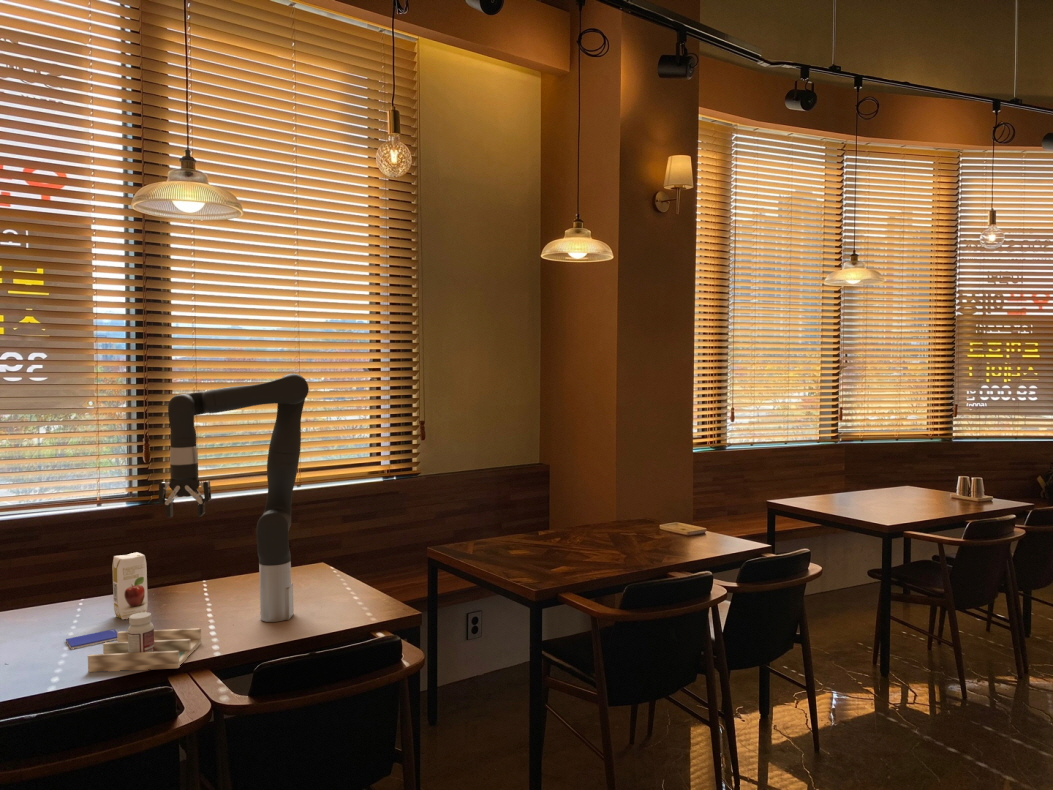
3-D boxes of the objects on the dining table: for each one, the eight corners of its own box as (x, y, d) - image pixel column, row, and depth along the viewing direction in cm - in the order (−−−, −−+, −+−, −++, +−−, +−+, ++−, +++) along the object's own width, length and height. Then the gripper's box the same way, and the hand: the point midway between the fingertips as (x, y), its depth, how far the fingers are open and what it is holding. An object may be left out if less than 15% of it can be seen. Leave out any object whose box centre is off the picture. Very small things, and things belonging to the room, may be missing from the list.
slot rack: (201, 643, 216) (201, 628, 216) (178, 668, 198) (177, 652, 197) (119, 646, 214) (118, 631, 213) (88, 672, 196) (87, 656, 195)
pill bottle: (154, 652, 205) (153, 610, 205) (154, 659, 200) (153, 616, 200) (128, 656, 203) (127, 613, 202) (128, 664, 197) (126, 620, 197)
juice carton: (111, 616, 240) (110, 555, 239) (140, 609, 246) (139, 550, 246) (121, 621, 235) (119, 559, 234) (150, 614, 241) (148, 554, 241)
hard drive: (114, 628, 226) (65, 638, 218) (120, 635, 220) (70, 645, 212) (114, 633, 226) (65, 643, 218) (120, 640, 220) (71, 651, 212)
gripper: (213, 459, 231) (214, 513, 232) (163, 461, 230) (165, 515, 231) (205, 463, 224) (206, 518, 224) (153, 464, 223) (155, 520, 223)
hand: (185, 516), depth 228 cm, fingers open, 8 cm apart
